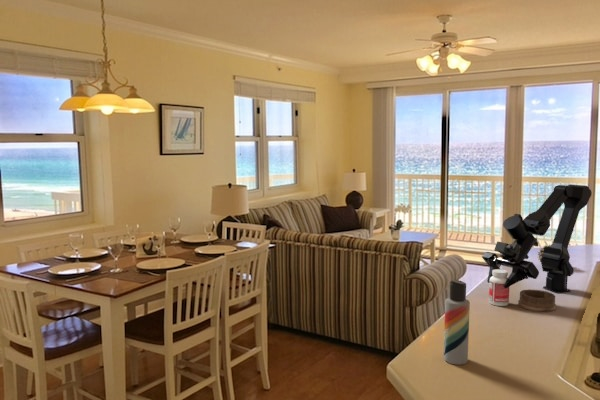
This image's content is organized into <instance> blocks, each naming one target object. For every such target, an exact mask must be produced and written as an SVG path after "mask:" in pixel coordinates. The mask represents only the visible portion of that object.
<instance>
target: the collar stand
mask: <svg viewBox="0 0 600 400" xmlns="http://www.w3.org/2000/svg"><path fill="white" fill-rule="evenodd" d="M517 302H518V304H517V305H518V306H519V307H521V308H522V309H524V310H528V311H532V312H537V313H538V312H539V313H550V312H553V311H556V309H557V305H556V295H555V294H554V293H552V292H549V291H546V290H540V289H522V290H521V291H519V300H518V301H517Z"/></svg>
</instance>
